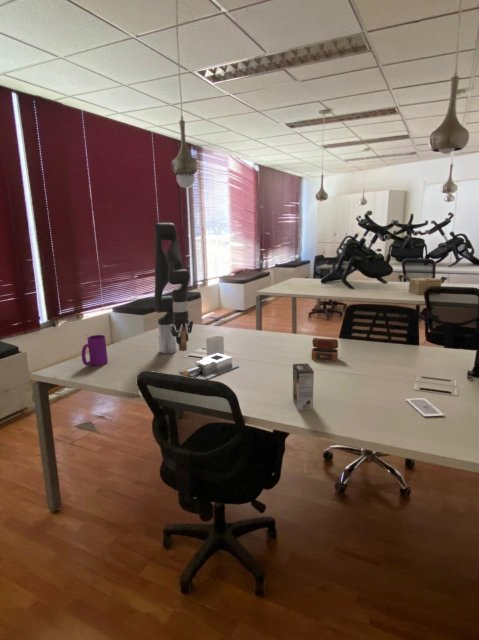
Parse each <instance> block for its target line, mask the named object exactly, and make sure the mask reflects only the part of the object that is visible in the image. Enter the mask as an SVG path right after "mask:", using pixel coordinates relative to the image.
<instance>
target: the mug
mask: <svg viewBox="0 0 479 640" xmlns="http://www.w3.org/2000/svg"><path fill="white" fill-rule="evenodd" d="M87 348H88V354H89V361H87V357H86V350H87ZM81 361H82V364H83V365H84V366H89V367H90V366H93V367H94V366H95V367H98V366H99V367H100V366H104V365H107V363H108V361H109V360H108V351H107V344H106V336H105V335H103V334H97V335H96V334H95V335H91V336H89V337H87V343H85V344H84V345H83V346H82V348H81Z"/></svg>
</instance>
